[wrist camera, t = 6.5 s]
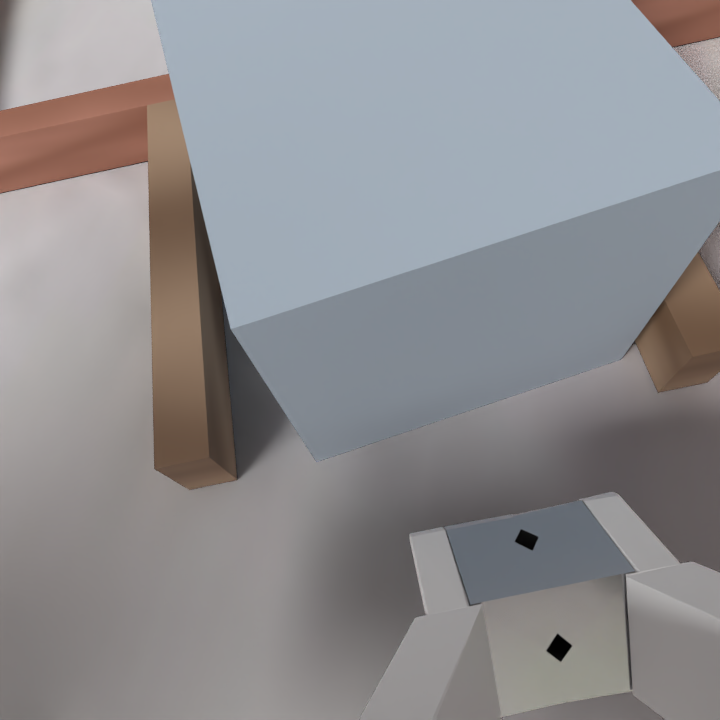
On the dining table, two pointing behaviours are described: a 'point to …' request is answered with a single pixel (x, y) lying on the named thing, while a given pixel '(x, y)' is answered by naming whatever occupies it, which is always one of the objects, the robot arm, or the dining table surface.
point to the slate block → (437, 194)
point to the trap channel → (198, 271)
